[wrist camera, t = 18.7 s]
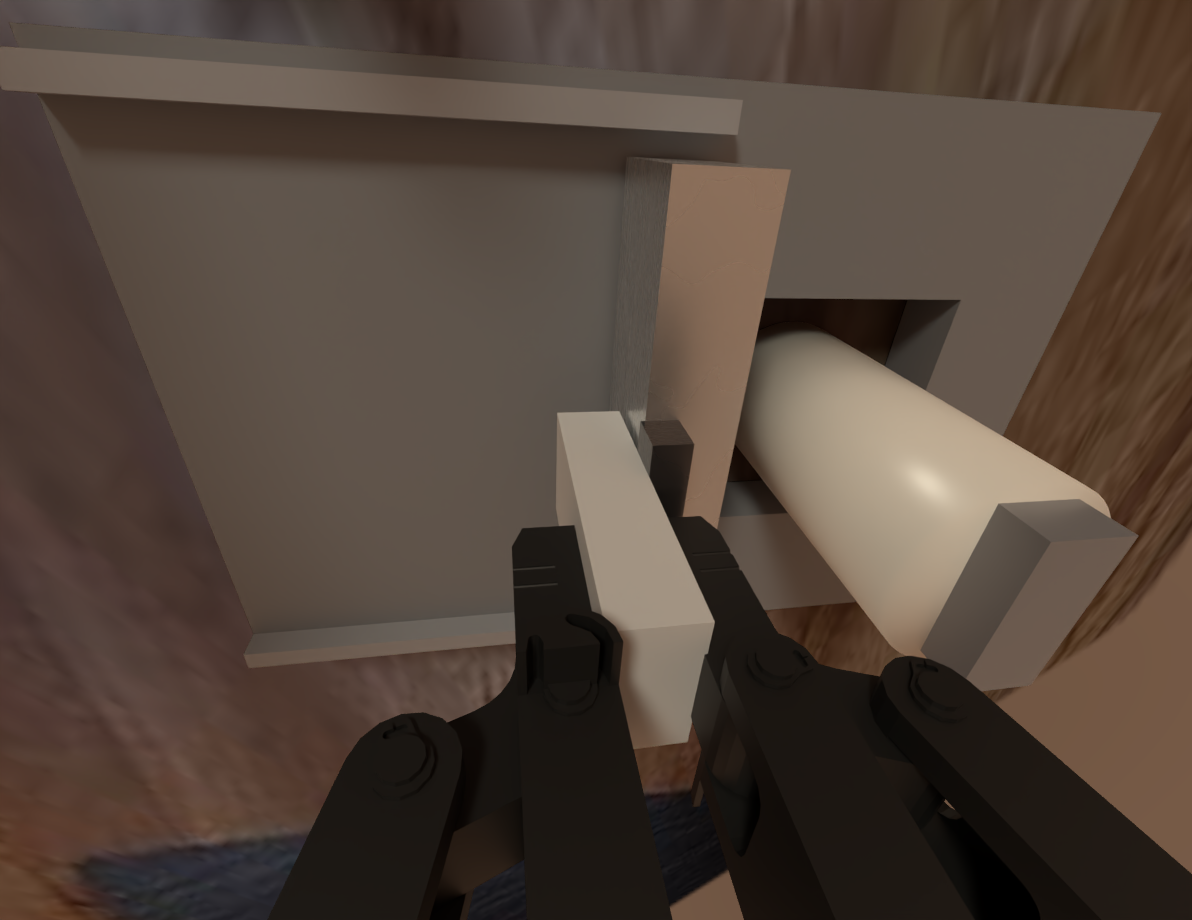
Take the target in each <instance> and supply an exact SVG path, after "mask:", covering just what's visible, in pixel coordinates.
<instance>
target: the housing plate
mask: <svg viewBox="0 0 1192 920" xmlns="http://www.w3.org/2000/svg"><path fill="white" fill-rule="evenodd" d="M9 24H10V27H11V29H12V32H13V34H14V37H15V39H16V42H17V44H18V47H19V48H17V47H3V46H0V86H1V88H2V90H6V91H17V92H28V93H37V94H38V97H39V99H40V102H41V104H42V107H43V109H44V112H45V114H46V117H47V119H48V122H49V124H50V127H51V129H52V132H53V134H54V137H55V139H56V142H57V144H58V147H59V149H60V152H61V154H62V157H63V159H64V162H65V164H66V167H67V169H68V172H69V174H70V177H71V179H72V182H73V184H74V187H75V189H76V192H77V194H78V197H79V199H80V202H81V204H82V207H83V209H84V212H85V214H86V217H87V219H88V222H89V224H90V227H91V229H92V232H93V234H94V237H95V239H96V242H97V244H98V247H99V249H100V252H101V254H102V257H103V259H104V262H105V264H106V267H107V269H108V272H109V274H110V277H111V279H112V282H113V284H114V287H115V289H116V292H117V294H118V297H119V299H120V302H121V304H122V307H123V309H124V312H125V314H126V317H127V319H128V322H129V324H130V327H131V329H132V332H133V334H134V337H135V339H136V342H137V344H138V347H139V349H140V352H141V354H142V357H143V359H144V362H145V364H146V367H147V369H148V372H149V374H150V377H151V379H152V382H153V384H154V387H155V389H156V392H157V394H158V397H159V399H160V402H161V404H162V407H163V409H164V412H165V414H166V417H167V419H168V422H169V424H170V427H171V429H172V432H173V434H174V437H175V439H176V442H177V444H178V447H179V449H180V452H181V454H182V457H183V459H184V462H185V464H186V467H187V469H188V472H189V474H190V477H191V479H192V482H193V484H194V487H195V489H196V492H197V494H198V497H199V499H200V502H201V504H202V507H203V509H204V512H205V514H206V517H207V519H208V522H209V524H210V527H211V529H212V532H213V534H214V537H215V539H216V542H217V544H218V547H219V549H220V552H221V554H222V557H223V559H224V562H225V564H226V567H227V569H228V572H229V574H230V577H231V579H232V582H233V584H234V587H235V589H236V592H237V594H238V597H239V599H240V602H241V604H242V607H243V609H244V612H245V614H246V617H247V619H248V622H249V624H250V627H251V629H252V632H253V636H252V638H251V640H250V642H249V644H248V646H247V648H246V650H245V653H244V655H243V656H244V658H245V660H246V663H247V665H248V667H249V668H258V667H268V666H279V665H290V664H300V663H311V662H322V661H332V660H343V659H354V658H364V657H375V656H386V655H396V654H407V653H418V652H428V651H439V650H450V649H460V648H471V647H482V646H492V645H503V644H514V643H516V640H515V615H514V590H513V565H512V545H513V544H514V542H515V540H516V538H517V537H518V535H519V533H520V531H521V529H522V528H534V527H551V526H559V524H558V517H557V511H556V464H557V413H566V412H605V411H609V409H610V394H611V379H612V364H613V349H614V335H615V320H616V305H617V290H618V275H619V260H620V245H621V231H622V216H623V201H624V186H625V171H626V157H643V158H662V159H681V160H700V161H718V162H727V163H735V164H744V165H753V166H762V167H771V168H780V169H789V170H791V172H790V177H789V182H788V186H787V191H786V196H785V201H784V206H783V211H782V216H781V220H780V225H779V230H778V235H777V240H776V245H775V250H774V254H773V259H772V264H771V269H770V274H769V279H768V284H767V289H766V293H765V298H811V299H908V300H907V303H906V305H905V308H904V311H903V314H902V317H901V320H900V323H899V326H898V329H897V332H896V335H895V338H894V341H893V344H892V347H891V350H890V352H889V355H888V358H887V361H886V364H885V367H887V368H888V369H890V370H892V371H893V372H895V373H897V374H898V375H900V376H902V377H903V378H905V379H907V380H909V381H910V382H912V383H914V384H915V385H917V386H919V387H920V388H922V389H924V390H925V391H927V392H929V393H930V394H932V395H934V396H935V397H937V398H939V399H941V400H942V401H944V402H946V403H947V404H949V405H951V406H952V407H954V408H956V409H957V410H959V411H961V412H962V413H964V414H966V415H967V416H969V417H971V418H972V419H974V420H976V421H978V422H979V423H981V424H983V425H984V426H986V427H988V428H989V429H991V430H993V431H994V432H996V433H998V434H999V435H1001V436H1003V434H1004V432H1005V430H1006V428H1007V426H1008V424H1009V422H1010V419H1011V417H1012V415H1013V413H1014V411H1015V409H1016V407H1017V405H1018V403H1019V401H1020V399H1021V397H1022V395H1023V393H1024V391H1025V389H1026V387H1027V385H1028V383H1029V381H1030V379H1031V377H1032V375H1033V373H1034V371H1035V369H1036V367H1037V365H1038V363H1039V361H1040V359H1041V357H1042V355H1043V353H1044V351H1045V348H1046V346H1047V344H1048V342H1049V340H1050V338H1051V336H1052V334H1053V332H1054V330H1055V328H1056V326H1057V324H1058V322H1059V320H1060V318H1061V316H1062V314H1063V312H1064V310H1065V308H1066V306H1067V304H1068V302H1069V300H1070V298H1071V296H1072V294H1073V292H1074V290H1075V288H1076V286H1077V284H1078V282H1079V279H1080V277H1081V275H1082V273H1083V271H1084V269H1085V267H1086V265H1087V263H1088V261H1089V259H1090V257H1091V255H1092V253H1093V251H1094V249H1095V247H1096V245H1097V243H1098V241H1099V239H1100V237H1101V235H1102V233H1103V231H1104V229H1105V227H1106V225H1107V223H1108V221H1109V219H1110V217H1111V215H1112V213H1113V210H1114V208H1115V206H1116V204H1117V202H1118V200H1119V198H1120V196H1121V194H1122V192H1123V190H1124V188H1125V186H1126V184H1127V182H1128V180H1129V178H1130V176H1131V174H1132V172H1133V170H1134V168H1135V166H1136V164H1137V162H1138V160H1139V158H1140V156H1141V154H1142V152H1143V150H1144V148H1145V146H1146V144H1147V141H1148V139H1149V137H1150V135H1151V133H1152V131H1153V129H1154V127H1155V125H1156V123H1157V121H1158V119H1159V117H1160V115H1161V113H1155V112H1143V111H1130V110H1117V109H1104V108H1092V107H1079V106H1066V105H1054V104H1041V103H1028V102H1015V101H1003V100H990V99H977V98H965V97H952V96H939V95H926V94H914V93H901V92H888V91H875V90H863V89H850V88H837V87H825V86H812V85H799V84H786V83H774V82H761V81H748V80H736V79H723V78H710V77H697V76H685V75H672V74H659V73H646V72H634V71H621V70H608V69H596V68H583V67H570V66H557V65H545V64H532V63H519V62H507V61H494V60H481V59H468V58H456V57H443V56H430V55H418V54H405V53H392V52H379V51H367V50H354V49H341V48H328V47H316V46H303V45H290V44H278V43H265V42H252V41H239V40H227V39H214V38H201V37H189V36H176V35H163V34H150V33H138V32H125V31H112V30H99V29H87V28H74V27H61V26H49V25H36V24H23V23H10V22H9ZM717 530H718V531H720V533H721V535H722V537H723V538H724V540H725V542H726V544H727V545H728V547H729V549H730V553H731V554H733V556H734V558H735V559H736V561H737V563H738V565H739V569H740V570H742V572H743V573H744V575H745V577H746V579H747V580H748V582H749V584H750V586H751V588H752V589H753V591H754V593H755V595H756V596H757V598H758V600H759V602H760V603H761V605H762V607H763V609H764V610H772V609H783V608H794V607H805V606H816V605H827V604H838V603H849V602H857V601H856V600H855V599H854V598H853V596H852V595H851V594H850V592H849V591H848V590H847V589H846V587H845V586H844V585H843V583H842V582H841V581H840V579H839V578H838V577H837V576H836V574H835V573H834V572H833V570H832V569H831V568H830V567H829V565H828V564H827V563H826V561H825V560H824V559H823V557H822V556H821V555H820V554H819V552H818V551H817V550H816V548H815V547H814V546H813V545H812V543H811V542H810V541H809V539H808V538H807V537H806V535H805V534H804V533H803V532H802V530H801V529H800V528H799V526H798V525H797V524H796V523H795V521H794V520H793V519H792V517H791V516H790V515H789V513H788V512H787V511H786V510H785V508H784V507H783V506H782V504H781V503H780V502H779V501H778V499H777V498H776V497H775V495H774V494H773V493H772V491H771V490H770V489H769V488H768V486H767V485H766V484H765V482H764V481H763V480H759V481H739V482H727V483H726V488H725V493H724V497H723V502H722V507H721V512H720V517H719V522H718V527H717Z"/></svg>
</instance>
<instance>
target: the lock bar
mask: <svg viewBox="0 0 1192 920" xmlns="http://www.w3.org/2000/svg"><path fill="white" fill-rule="evenodd" d="M790 172H791V170H789V169H780V168H771V167H762V166H753V165H744V164H735V163H727V162H718V161H700V160H681V159H662V158H643V157H626V171H625V186H624V201H623V216H622V231H621V245H620V260H619V275H618V290H617V305H616V320H615V335H614V349H613V364H612V379H611V394H610V409H609V411H620V414H621V416H622V418H623V420H624V422H625V425H626V427H627V429H628V431H629V433H630V436H631V438H632V440H633V442H634V445H635V447H636V449H637V451H638V454H639V456H640V458H641V460H642V463H643V465H644V467H645V469H646V471H647V474H648V476H649V478H650V480H651V482H652V484H653V487H654V489H655V491H656V493H657V495H658V498H659V500H660V502H661V504H662V506H663V509H664V511H665V513H666V515H667V517H668V518H674V517H691V516H701V517H702V518H704V519H705V520H706V521H707V522H709V523H710V524H711V525H712V526H713V527H715V528H716V529H717V527H718V522H719V517H720V512H721V507H722V502H723V497H724V493H725V488H726V483H727V478H728V473H729V468H730V463H731V459H732V454H733V449H734V444H735V439H736V434H737V429H738V425H739V420H740V415H741V410H742V405H743V400H744V395H745V391H746V386H747V381H748V376H749V371H750V366H751V361H752V357H753V352H754V347H755V342H756V337H757V332H758V327H759V323H760V318H761V313H762V308H763V303H764V298H765V293H766V289H767V284H768V279H769V274H770V269H771V264H772V259H773V254H774V250H775V245H776V240H777V235H778V230H779V225H780V220H781V216H782V211H783V206H784V201H785V196H786V191H787V186H788V182H789V177H790Z"/></svg>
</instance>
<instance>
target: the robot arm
mask: <svg viewBox="0 0 1192 920" xmlns="http://www.w3.org/2000/svg"><path fill="white" fill-rule="evenodd" d="M556 511H557V517H558V524H559V526H551V527H534V528H522V529H521V531H520V533H519V535H518V537H517V538H516V540H515V542H514V544H513V545H512V565H513V590H514V615H515V640H516V662H515V669H514V672H513V674H512V677H511V679H510V681H509V683H508V684H507V685H506V687H505V688H504V690H503V691H502V692H501V693H500V694H499V695H498V696H497V697H496V698H494V699H493V700H492V701H491V702H490V703H488V704H486V705H485V706H483V707H481V708H479V709H477V710H476V711H473V712H471V713H469V714H467V715H464V716H462V717H460V718H457V719H455V720H453V721H450V722H448V723H447V722H446V721H445V720H443V719H442V718H440V717H436V716H433V715H430V714H427V713H410V714H401V715H398V716H396V717H394V718H391V719H389V720H386V721H384V722H381V723H379V724H378V725H377V726H376V727H374V728H373V729H372V730H370V731H369V732H368V733H367V734H365V735H364V736H363V737H362V738H360V740H359V741H358V742H357V744H356V745H355V747H354V748H353V750H352V751H351V752H350V754H349V755H348V757H347V758H346V760H345V762H344V764H343V766H342V768H341V770H340V772H339V774H338V776H337V778H336V780H335V782H334V784H333V786H332V788H331V790H330V792H329V794H328V796H327V799H326V801H325V803H324V805H323V807H322V809H321V811H320V813H319V815H318V817H317V819H316V821H315V823H314V825H313V827H312V829H311V831H310V833H309V835H308V838H307V840H306V842H305V844H304V846H303V848H302V850H301V852H300V854H299V856H298V858H297V860H296V862H295V864H294V866H293V868H292V870H291V872H290V874H289V877H288V879H287V881H286V883H285V885H284V887H283V889H282V891H281V893H280V895H279V897H278V899H277V901H276V903H275V905H274V907H273V909H272V911H271V913H270V916H269V918H268V920H467V916H468V912H469V908H470V903H471V899H472V895H473V890H474V888H476V887H477V886H479V885H481V884H482V883H484V882H486V881H488V880H489V879H491V878H493V877H495V876H496V875H498V874H500V873H501V872H503V871H505V870H507V869H508V868H510V867H512V866H514V865H515V864H517V863H519V862H520V861H522V860H524V862H525V885H526V909H527V920H672V916H671V911H670V907H669V903H668V898H667V894H666V889H665V885H664V881H663V876H662V872H661V867H660V863H659V859H658V854H657V850H656V846H655V841H654V837H653V832H652V828H651V824H650V819H649V815H648V810H647V806H646V802H645V797H644V793H643V789H642V784H641V780H640V775H639V771H638V767H637V762H636V758H635V753H634V749H638V748H646V747H654V746H661V745H669V744H677V743H684V742H688V737H689V733H690V729H691V724H692V722H693V725H694V728H695V731H696V734H697V737H698V740H699V743H700V746H701V748H702V750H701V754H700V758H699V762H698V766H697V770H696V774H695V778H694V782H693V786H692V790H691V795H692V804H693V807H697V806H700V803H701V800H702V796H703V792H704V794H705V797H706V800H707V804H708V807H709V810H710V813H711V816H712V819H713V823H714V826H715V829H716V832H717V835H718V838H719V842H720V845H721V848H722V851H723V854H724V857H725V861H726V864H727V867H728V870H729V873H730V876H731V880H732V883H733V886H734V889H735V892H736V895H737V899H738V902H739V905H740V908H741V911H742V914H743V918H744V920H1192V874H1191V873H1190V872H1189V871H1187V870H1186V869H1185V868H1184V867H1183V866H1182V865H1181V864H1180V863H1178V862H1177V861H1176V860H1175V859H1174V858H1172V857H1171V856H1170V855H1169V854H1168V853H1167V852H1166V851H1165V850H1163V849H1162V848H1161V847H1160V846H1159V845H1158V844H1156V843H1155V842H1154V841H1153V840H1152V839H1151V838H1150V837H1148V836H1147V835H1146V834H1145V833H1144V832H1143V831H1141V830H1140V829H1139V828H1138V827H1137V826H1136V825H1135V824H1133V823H1132V822H1131V821H1130V820H1129V819H1128V818H1126V817H1125V816H1124V815H1123V814H1122V813H1121V812H1120V811H1118V810H1117V809H1116V808H1115V807H1114V806H1113V805H1112V804H1110V803H1109V802H1108V801H1107V800H1106V799H1105V798H1103V797H1102V796H1101V795H1100V794H1099V793H1098V792H1097V791H1095V790H1094V789H1093V788H1092V787H1091V786H1090V785H1088V784H1087V783H1086V782H1085V781H1084V780H1083V779H1081V778H1080V777H1079V776H1078V775H1077V774H1076V773H1075V772H1073V771H1072V770H1071V769H1070V768H1069V767H1068V766H1067V765H1065V764H1064V763H1063V762H1062V761H1061V760H1060V759H1058V758H1057V757H1056V756H1055V755H1054V754H1053V753H1051V752H1050V751H1049V750H1048V749H1047V748H1046V747H1045V746H1044V745H1042V744H1041V743H1040V742H1039V741H1038V740H1036V739H1035V738H1034V737H1033V736H1032V735H1031V734H1030V733H1029V732H1027V731H1026V730H1025V729H1024V728H1023V727H1022V726H1020V725H1019V724H1018V723H1017V722H1016V721H1015V720H1014V719H1012V718H1011V717H1010V716H1009V715H1008V714H1007V713H1005V712H1004V711H1003V710H1002V709H1001V708H1000V707H999V706H997V705H996V704H995V703H994V702H993V701H992V700H991V699H989V698H988V697H987V696H986V695H985V694H984V693H982V692H981V691H980V690H979V689H978V688H977V687H976V686H974V685H973V684H972V683H971V682H970V681H968V680H967V679H966V678H964V677H963V676H961V675H960V674H958V673H957V672H956V671H954V670H953V669H951V668H949V667H947V666H945V665H943V664H940V663H938V662H936V661H933V660H931V659H927V658H921V657H916V656H905V657H899V658H895V659H893V660H892V661H891V662H890V663H888V664H887V665H886V666H885V667H884V669H883V671H882V674H881V676H880V677H879V676H874V675H868V674H863V673H857V672H852V671H846V670H841V669H835V668H832V667H828V666H824V665H821V664H818V662H817V661H816V660H815V659H814V658H813V656H812V655H811V654H810V653H809V652H808V651H807V649H806V648H804V647H803V646H801V645H800V644H798V643H797V642H795V641H794V640H792V639H791V638H789V637H786V636H784V635H781V634H778V632H777V631H776V630H775V628H774V626H773V624H772V623H771V621H770V619H769V617H768V616H767V614H766V612H765V610H764V609H763V607H762V605H761V603H760V602H759V600H758V598H757V596H756V595H755V593H754V591H753V589H752V588H751V586H750V584H749V582H748V580H747V579H746V577H745V575H744V573H743V572H742V570H740V569H739V565H738V563H737V561H736V559H735V558H734V556H733V554H731V553H730V549H729V547H728V545H727V544H726V542H725V540H724V538H723V537H722V535H721V533H720V531H718V530H717V529H716V528H715V527H713V526H712V525H711V524H710V523H709V522H707V521H706V520H705V519H704V518H702V517H701V516H691V517H674V518H668V517H667V515H666V513H665V511H664V509H663V506H662V504H661V502H660V500H659V498H658V495H657V493H656V491H655V489H654V487H653V484H652V482H651V480H650V478H649V476H648V474H647V471H646V469H645V467H644V465H643V463H642V460H641V458H640V456H639V454H638V451H637V449H636V447H635V445H634V442H633V440H632V438H631V436H630V433H629V431H628V429H627V427H626V425H625V422H624V420H623V418H622V416H621V414H620V411H605V412H566V413H557V464H556ZM945 799H946V800H947V801H948V802H949V803H950V804H951V805H952V807H953V808H954V809H955V810H954V809H952V808H950V807H949V806H948V805H947V804H946V803H945V802H944V801H945Z"/></svg>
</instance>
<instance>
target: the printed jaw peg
mask: <svg viewBox="0 0 1192 920" xmlns="http://www.w3.org/2000/svg"><path fill="white" fill-rule="evenodd" d="M735 445H736V446H737V447H738V449H739V450H740V451H741V453H742V454H743V455H744V457H745V458H746V459H747V460H748V462H749V463H750V464H751V466H752V467H753V468H754V469H755V471H756V472H757V473H758V475H759V476H760V477H761V479H762V480H763V481H764V482H765V484H766V485H767V486H768V488H769V489H770V490H771V491H772V493H773V494H774V495H775V497H776V498H777V499H778V501H779V502H780V503H781V504H782V506H783V507H784V508H785V510H786V511H787V512H788V513H789V515H790V516H791V517H792V519H793V520H794V521H795V523H796V524H797V525H798V526H799V528H800V529H801V530H802V532H803V533H804V534H805V535H806V537H807V538H808V539H809V541H810V542H811V543H812V545H813V546H814V547H815V548H816V550H817V551H818V552H819V554H820V555H821V556H822V557H823V559H824V560H825V561H826V563H827V564H828V565H829V567H830V568H831V569H832V570H833V572H834V573H835V574H836V576H837V577H838V578H839V579H840V581H841V582H842V583H843V585H844V586H845V587H846V589H847V590H848V591H849V592H850V594H851V595H852V596H853V598H854V599H855V600H856V601H857V603H858V604H859V605H860V607H861V608H862V609H863V611H864V612H865V613H866V614H867V616H868V617H869V618H870V620H871V621H872V622H873V623H874V625H875V626H876V627H877V629H878V630H879V631H880V633H881V634H882V635H883V636H884V638H885V639H886V640H887V642H888V643H889V644H890V645H891V646H892V647H893V648H894V649H895V650H897V651H898V652H900V653H902V654H904V655H906V656H916V657H921V658H927V659H931V660H933V661H936V662H938V663H940V664H943V665H945V666H947V667H949V668H951V669H953V670H954V671H956V672H957V673H958V674H960V675H961V676H963V677H964V678H966V679H967V680H968V681H970V682H971V683H972V684H973V685H974V686H976V687H977V688H978V689H979V690H980V691H987V690H995V689H1004V688H1012V687H1020V686H1028V685H1031V684H1032V683H1033V681H1034V680H1035V678H1036V677H1037V676H1038V674H1039V673H1040V671H1041V670H1042V669H1043V667H1044V666H1045V665H1046V663H1047V662H1048V660H1049V659H1050V658H1051V656H1052V655H1053V653H1054V652H1055V651H1056V649H1057V648H1058V647H1059V645H1060V644H1061V642H1062V641H1063V640H1064V638H1065V637H1066V636H1067V634H1068V633H1069V631H1070V630H1071V629H1072V627H1073V626H1074V624H1075V623H1076V622H1077V620H1078V619H1079V618H1080V616H1081V615H1082V613H1083V612H1084V611H1085V609H1086V608H1087V606H1088V605H1089V604H1090V602H1091V601H1092V600H1093V598H1094V597H1095V595H1096V594H1097V593H1098V591H1099V590H1100V589H1101V587H1102V586H1103V584H1104V583H1105V582H1106V580H1107V579H1108V577H1109V576H1110V575H1111V573H1112V572H1113V571H1114V569H1115V568H1116V566H1117V565H1118V564H1119V562H1120V561H1121V559H1122V558H1123V557H1124V555H1125V554H1126V553H1127V551H1128V550H1129V548H1130V547H1131V546H1132V544H1133V543H1134V542H1135V540H1136V539H1137V537H1138V535H1137V534H1135V533H1133V532H1132V531H1130V530H1128V529H1127V528H1125V527H1124V526H1122V525H1120V524H1119V523H1117V522H1116V521H1114V520H1112V519H1111V517H1110V513H1109V509H1108V507H1107V505H1106V503H1105V501H1104V500H1103V498H1102V497H1101V496H1100V495H1099V494H1098V493H1097V492H1095V491H1093V490H1092V489H1090V488H1089V487H1087V486H1085V485H1084V484H1082V483H1080V482H1078V481H1077V480H1075V479H1073V478H1072V477H1070V476H1068V475H1067V474H1065V473H1063V472H1062V471H1060V470H1058V469H1057V468H1055V467H1053V466H1052V465H1050V464H1048V463H1047V462H1045V461H1043V460H1041V459H1040V458H1038V457H1036V456H1035V455H1033V454H1031V453H1030V452H1028V451H1026V450H1025V449H1023V448H1021V447H1020V446H1018V445H1016V444H1015V443H1013V442H1011V441H1010V440H1008V439H1006V438H1004V437H1003V436H1001V435H999V434H998V433H996V432H994V431H993V430H991V429H989V428H988V427H986V426H984V425H983V424H981V423H979V422H978V421H976V420H974V419H972V418H971V417H969V416H967V415H966V414H964V413H962V412H961V411H959V410H957V409H956V408H954V407H952V406H951V405H949V404H947V403H946V402H944V401H942V400H941V399H939V398H937V397H935V396H934V395H932V394H930V393H929V392H927V391H925V390H924V389H922V388H920V387H919V386H917V385H915V384H914V383H912V382H910V381H909V380H907V379H905V378H903V377H902V376H900V375H898V374H897V373H895V372H893V371H892V370H890V369H888V368H887V367H885V366H883V365H882V364H880V363H878V362H877V361H875V360H873V359H872V358H870V357H868V356H866V355H865V354H863V353H861V352H860V351H858V350H856V349H855V348H853V347H851V346H850V345H848V344H846V343H845V342H843V341H841V340H840V339H838V338H836V337H835V336H833V335H831V334H829V333H828V332H826V331H824V330H823V329H821V328H819V327H817V326H815V325H813V324H809V323H805V322H797V321H791V322H782V323H777V324H774V325H771V326H768V327H766V328H763V329H761V330H759V331H758V332H757V337H756V342H755V347H754V352H753V357H752V361H751V366H750V371H749V376H748V381H747V386H746V391H745V395H744V400H743V405H742V410H741V415H740V420H739V425H738V429H737V434H736V439H735Z"/></svg>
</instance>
